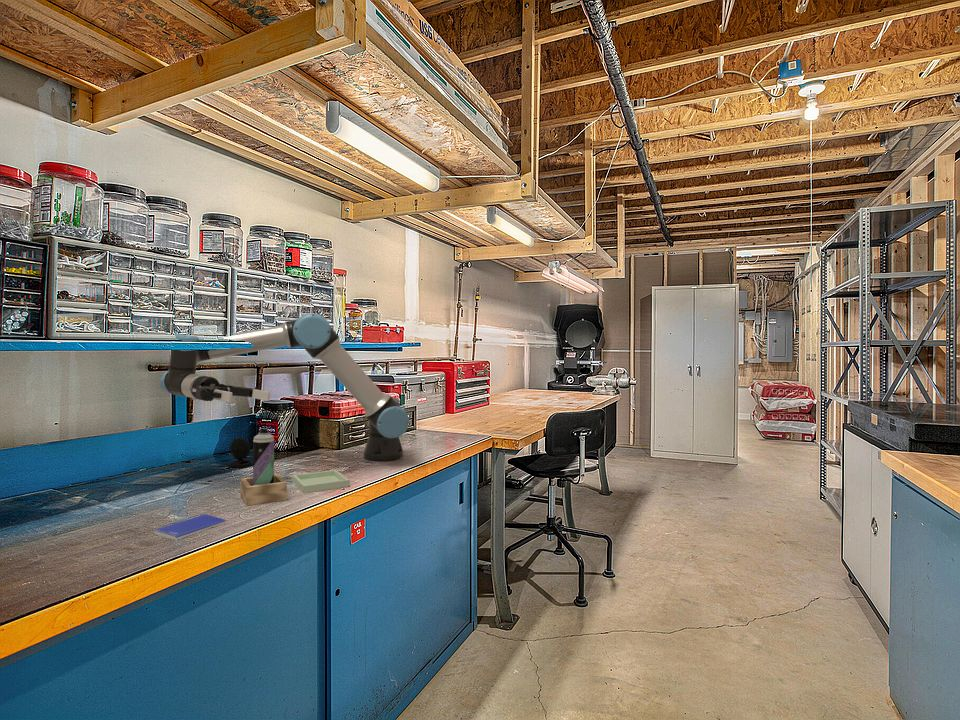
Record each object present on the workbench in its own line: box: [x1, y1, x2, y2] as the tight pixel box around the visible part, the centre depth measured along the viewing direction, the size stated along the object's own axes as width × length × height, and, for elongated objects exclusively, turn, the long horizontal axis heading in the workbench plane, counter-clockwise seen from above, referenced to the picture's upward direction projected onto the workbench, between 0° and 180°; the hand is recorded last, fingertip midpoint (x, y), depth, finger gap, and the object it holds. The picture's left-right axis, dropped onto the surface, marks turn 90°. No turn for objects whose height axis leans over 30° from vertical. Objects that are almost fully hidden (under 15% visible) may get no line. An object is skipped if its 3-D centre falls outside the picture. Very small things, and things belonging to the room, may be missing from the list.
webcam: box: [227, 437, 253, 469], centre depth 179 cm, size 8×8×10 cm
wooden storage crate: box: [240, 473, 288, 507], centre depth 144 cm, size 10×10×5 cm
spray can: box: [252, 427, 275, 486], centre depth 144 cm, size 6×6×20 cm
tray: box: [291, 469, 351, 494], centre depth 159 cm, size 14×14×2 cm
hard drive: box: [153, 513, 226, 541], centre depth 121 cm, size 2×8×12 cm
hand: (250, 396), depth 149 cm, fingers open, 13 cm apart
